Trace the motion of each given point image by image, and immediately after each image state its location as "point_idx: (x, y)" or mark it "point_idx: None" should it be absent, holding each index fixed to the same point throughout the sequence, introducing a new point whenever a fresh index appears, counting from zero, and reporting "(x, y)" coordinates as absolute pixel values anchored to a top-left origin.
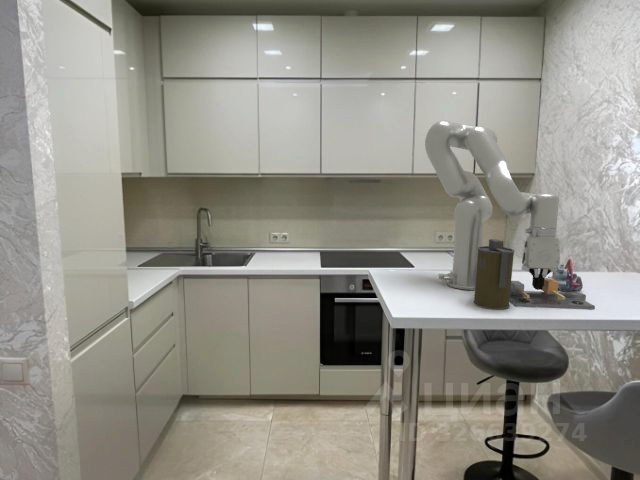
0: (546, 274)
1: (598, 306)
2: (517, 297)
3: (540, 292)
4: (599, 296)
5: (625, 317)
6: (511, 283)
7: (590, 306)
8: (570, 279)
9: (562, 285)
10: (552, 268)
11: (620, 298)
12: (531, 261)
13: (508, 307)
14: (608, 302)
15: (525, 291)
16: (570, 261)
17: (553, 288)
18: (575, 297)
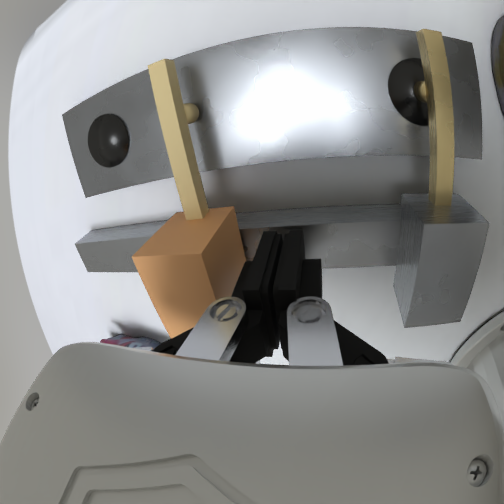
0: (201, 320)
1: (60, 165)
2: None
3: None
4: (70, 291)
5: (27, 62)
6: (471, 276)
7: (75, 107)
8: None
9: None
10: (111, 344)
11: (39, 277)
12: (464, 468)
13: (498, 21)
14: (46, 230)
15: (362, 254)
16: None
17: (185, 227)
18: (110, 233)
